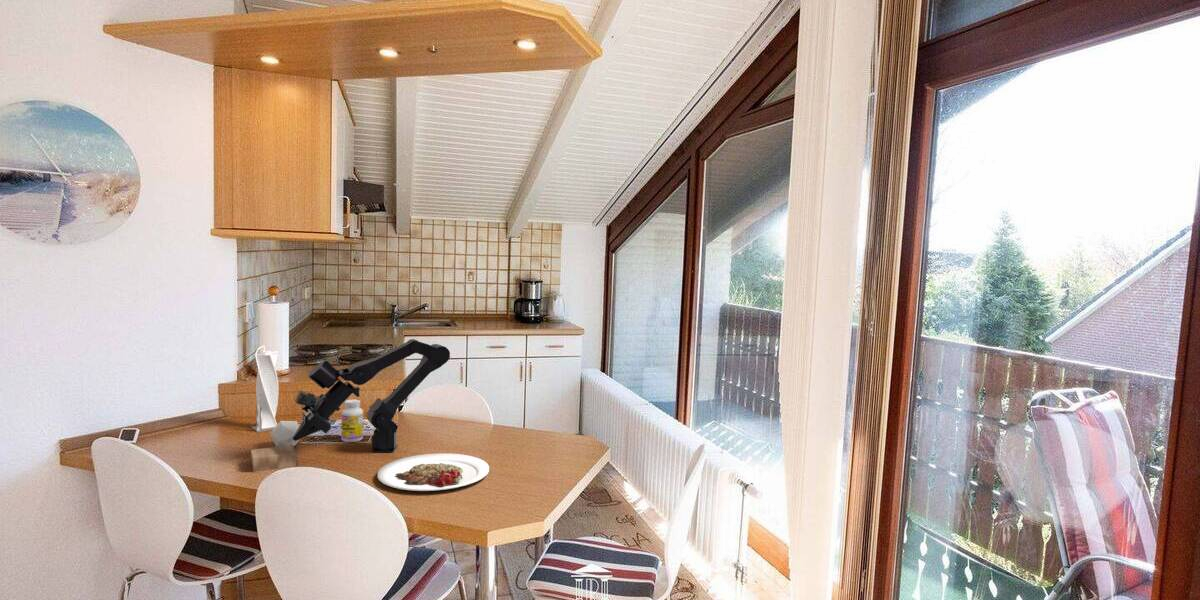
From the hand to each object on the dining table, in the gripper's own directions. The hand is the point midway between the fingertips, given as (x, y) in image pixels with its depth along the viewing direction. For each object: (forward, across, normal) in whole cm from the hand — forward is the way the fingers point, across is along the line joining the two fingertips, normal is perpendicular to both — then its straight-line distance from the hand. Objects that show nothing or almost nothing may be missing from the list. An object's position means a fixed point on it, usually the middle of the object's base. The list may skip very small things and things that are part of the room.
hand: (293, 439), depth 188 cm
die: (+5, -18, +5) cm, 19 cm away
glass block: (+3, 0, +4) cm, 5 cm away
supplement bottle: (-9, -16, +18) cm, 26 cm away
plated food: (-18, +30, +28) cm, 45 cm away
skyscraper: (+7, -44, +2) cm, 45 cm away
